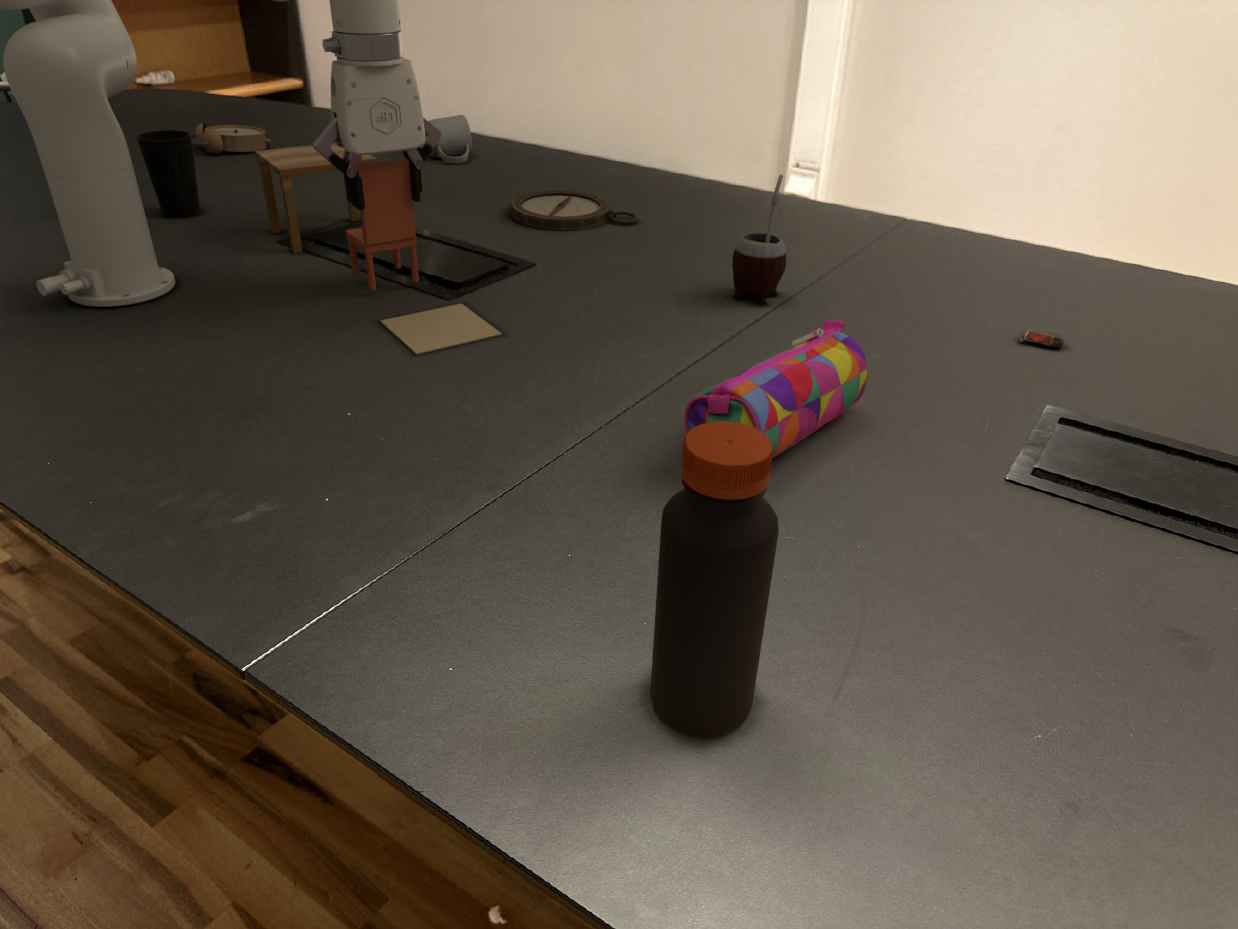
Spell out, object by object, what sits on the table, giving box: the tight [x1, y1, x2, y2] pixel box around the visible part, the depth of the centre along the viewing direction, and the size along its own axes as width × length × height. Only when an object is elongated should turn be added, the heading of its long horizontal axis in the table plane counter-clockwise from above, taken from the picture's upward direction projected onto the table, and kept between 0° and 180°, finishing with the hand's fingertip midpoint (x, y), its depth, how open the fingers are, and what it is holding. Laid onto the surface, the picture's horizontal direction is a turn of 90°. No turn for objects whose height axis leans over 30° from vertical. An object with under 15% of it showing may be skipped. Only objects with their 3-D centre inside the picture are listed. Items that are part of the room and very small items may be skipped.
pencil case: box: [684, 318, 868, 459], centre depth 88 cm, size 22×9×9 cm, turn 141°
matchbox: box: [1019, 329, 1065, 349], centre depth 111 cm, size 5×5×1 cm
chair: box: [345, 157, 420, 292], centre depth 117 cm, size 7×7×16 cm
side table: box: [254, 142, 378, 254], centre depth 135 cm, size 12×14×12 cm
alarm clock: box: [190, 123, 272, 155], centre depth 180 cm, size 11×5×15 cm
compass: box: [510, 189, 638, 231], centre depth 149 cm, size 20×16×2 cm
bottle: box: [649, 421, 780, 739], centre depth 54 cm, size 7×7×20 cm
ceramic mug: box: [427, 114, 473, 165], centre depth 178 cm, size 11×8×8 cm
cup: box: [136, 129, 201, 219], centre depth 142 cm, size 8×8×12 cm
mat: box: [379, 303, 502, 356], centre depth 110 cm, size 11×11×1 cm
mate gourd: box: [731, 174, 787, 306], centre depth 118 cm, size 8×8×15 cm
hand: (386, 201), depth 113 cm, fingers closed on chair, 6 cm apart
